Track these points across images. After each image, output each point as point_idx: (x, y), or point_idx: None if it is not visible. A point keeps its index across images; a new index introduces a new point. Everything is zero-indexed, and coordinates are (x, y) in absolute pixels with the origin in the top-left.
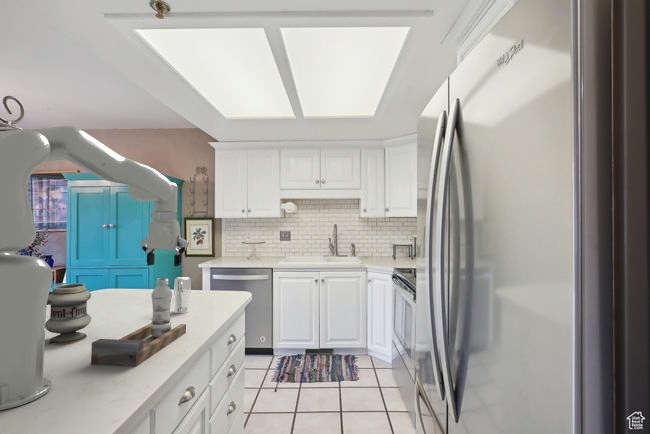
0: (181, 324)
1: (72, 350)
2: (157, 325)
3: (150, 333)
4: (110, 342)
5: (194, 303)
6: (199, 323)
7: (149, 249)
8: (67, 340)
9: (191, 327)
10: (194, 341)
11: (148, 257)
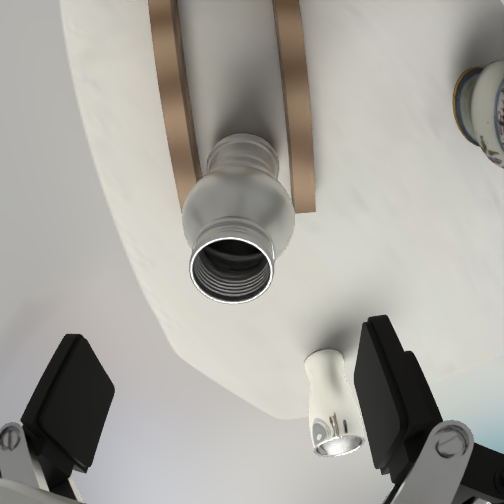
0: None
1: (416, 24)
2: (234, 142)
3: (290, 170)
4: None
5: None
6: None
7: (426, 494)
8: (471, 79)
9: None
10: (114, 152)
11: (403, 387)
